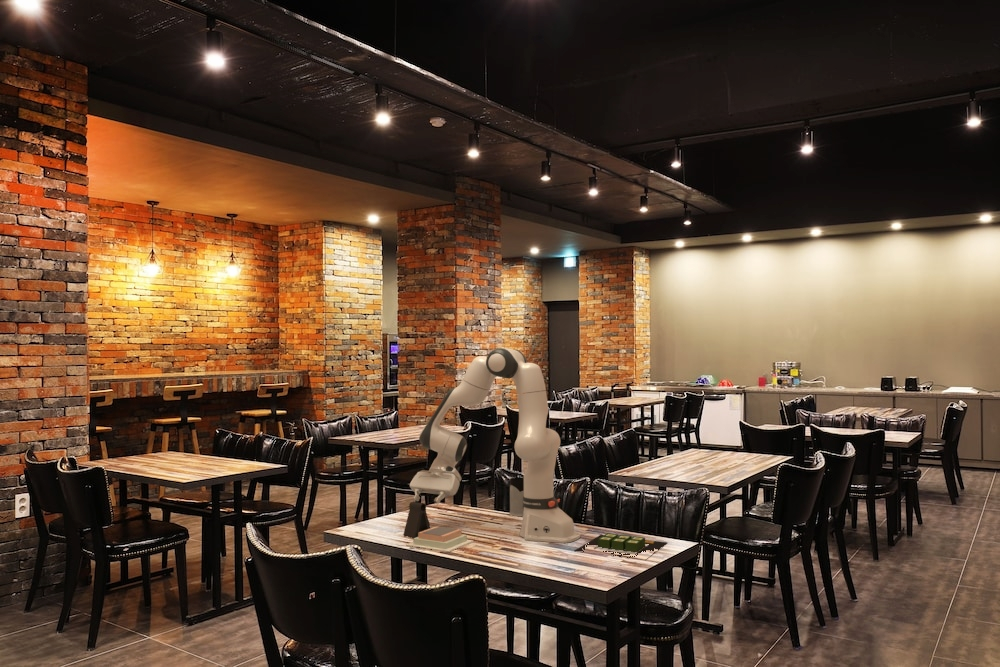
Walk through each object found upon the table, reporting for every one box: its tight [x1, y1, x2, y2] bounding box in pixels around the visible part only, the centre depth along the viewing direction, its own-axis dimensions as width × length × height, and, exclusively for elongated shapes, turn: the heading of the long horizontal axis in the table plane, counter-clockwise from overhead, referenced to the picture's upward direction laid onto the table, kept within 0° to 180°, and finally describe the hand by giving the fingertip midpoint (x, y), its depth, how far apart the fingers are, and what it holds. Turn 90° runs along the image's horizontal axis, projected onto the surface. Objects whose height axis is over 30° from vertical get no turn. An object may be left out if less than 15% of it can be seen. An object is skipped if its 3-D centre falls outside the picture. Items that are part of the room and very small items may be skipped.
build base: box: [405, 526, 475, 553], centre depth 262 cm, size 18×16×5 cm
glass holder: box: [508, 476, 524, 516], centre depth 311 cm, size 9×14×15 cm, turn 123°
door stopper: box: [402, 501, 431, 539], centre depth 276 cm, size 9×6×12 cm, turn 140°
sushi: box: [574, 532, 669, 559], centre depth 256 cm, size 25×25×4 cm
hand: (425, 501), depth 281 cm, fingers open, 8 cm apart
